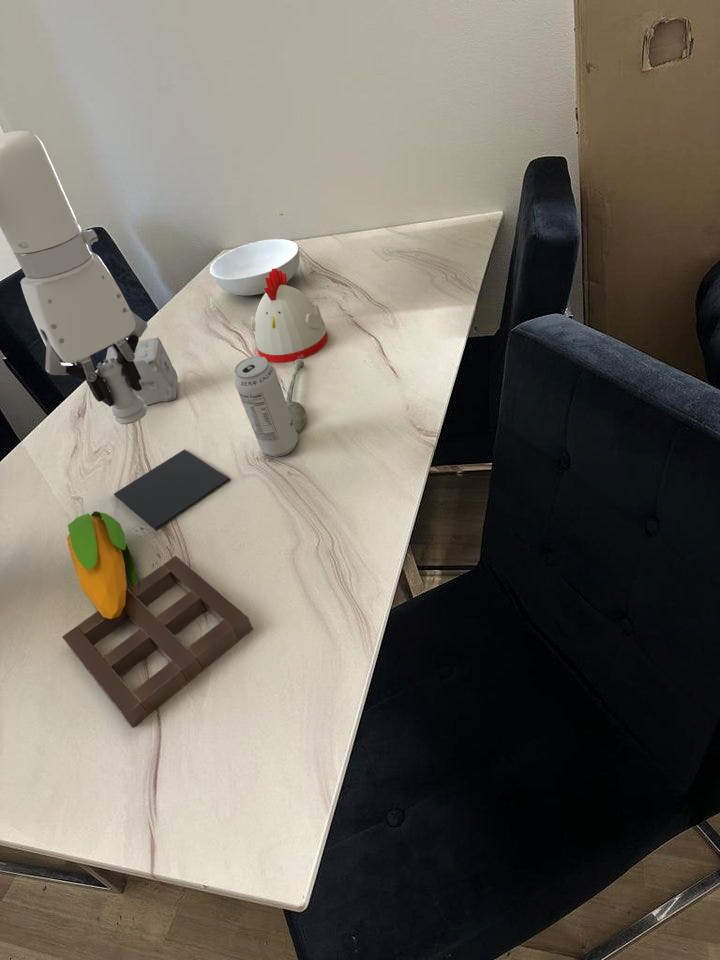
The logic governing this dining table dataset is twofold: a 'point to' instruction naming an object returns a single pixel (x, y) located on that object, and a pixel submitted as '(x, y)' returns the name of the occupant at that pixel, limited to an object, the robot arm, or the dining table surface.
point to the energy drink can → (265, 406)
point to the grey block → (152, 371)
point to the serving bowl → (254, 265)
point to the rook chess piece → (121, 393)
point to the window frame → (158, 638)
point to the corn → (102, 561)
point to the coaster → (171, 488)
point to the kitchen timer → (287, 323)
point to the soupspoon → (294, 407)
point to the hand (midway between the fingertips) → (121, 393)
